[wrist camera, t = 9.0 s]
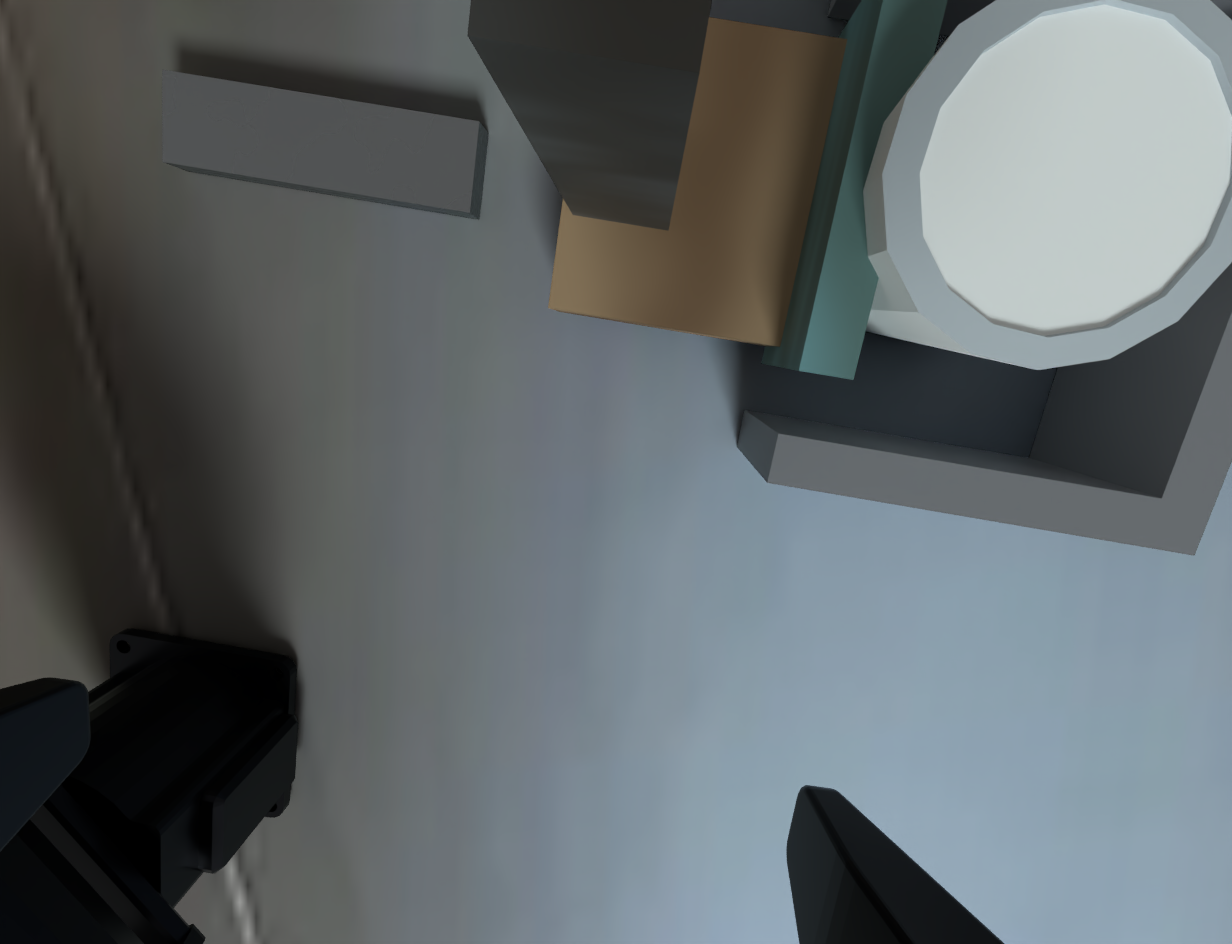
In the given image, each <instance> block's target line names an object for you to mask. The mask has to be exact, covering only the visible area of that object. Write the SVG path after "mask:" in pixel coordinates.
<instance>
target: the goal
mask: <svg viewBox="0 0 1232 944" xmlns="http://www.w3.org/2000/svg"><path fill="white" fill-rule="evenodd" d="M861 1H862V0H831V3H830V8H829V12H828V17H833V18H839V19H845V20H850V18H851V17H852V15H853V13H854V12H855V10H856V9H857V7H858V6H859V4H860V2H861ZM994 1H995V0H947V4H946V8H945V12H944V16H943V21H942V25H941V29H940V33H939V35H946V36H950V35H951V34H952V32H953V31H954V30H955V29H956V27H957V26H958V25H959V24H960V23H962V22H964V21H965V20H967V19H968V18H970V17H971V16H973V15H974V14H976V13H977V12H979V11H980V10H982V9H983V8H985V7H986V6H988V5H989V4H991V3H992V2H994ZM1210 1H1212V2H1213V3H1214V4H1215V5H1216V6H1217V7H1218V8H1219V9H1220V10H1221V11H1223V12H1224V13H1225V14H1226V15H1227V16H1228V17H1229V18H1230V19H1231V20H1232V0H1210ZM737 448H738V449H739V450H740V451H741V452H742V453H743V455H744V456H745V457H746V458H747V459H748V461H749V462H750V463H751V464H752V465H753V466H754V468H755V469H756V470H757V471H758V472H759V473H760V475H761V476H762V477H763V478H764V479H765V481H766V482H767V483H772V484H778V485H784V486H790V487H795V488H801V489H807V490H813V491H819V492H825V493H831V494H836V495H842V496H848V497H854V498H860V499H866V500H872V501H878V502H883V503H889V504H895V505H901V506H907V507H913V508H919V509H924V510H930V511H936V512H942V513H948V514H954V515H960V516H966V517H971V518H977V519H983V520H989V521H995V522H1001V523H1007V524H1012V525H1018V526H1024V527H1030V528H1036V529H1042V530H1048V531H1053V532H1059V533H1065V534H1071V535H1077V536H1083V537H1089V538H1095V539H1100V540H1106V541H1112V542H1118V543H1124V544H1130V545H1136V546H1141V547H1147V548H1153V549H1159V550H1165V551H1171V552H1177V553H1182V554H1188V555H1195V553H1196V550H1197V548H1198V545H1199V543H1200V540H1201V538H1202V535H1203V533H1204V530H1205V528H1206V525H1207V522H1208V520H1209V517H1210V515H1211V512H1212V510H1213V507H1214V505H1215V502H1216V500H1217V497H1218V495H1219V492H1220V490H1221V487H1222V485H1223V482H1224V479H1225V477H1226V474H1227V472H1228V469H1229V467H1230V464H1231V462H1232V262H1231V264H1230V265H1229V266H1228V267H1227V268H1226V269H1225V270H1224V271H1223V272H1222V273H1221V274H1220V276H1219V277H1218V278H1217V279H1216V280H1215V281H1214V282H1213V283H1212V284H1211V285H1210V287H1209V288H1208V289H1207V290H1206V291H1205V292H1204V293H1203V294H1202V295H1201V296H1200V297H1199V299H1198V300H1197V301H1196V302H1195V303H1194V304H1193V305H1192V306H1191V307H1190V308H1189V310H1188V311H1187V312H1186V313H1185V314H1184V315H1183V316H1182V317H1181V318H1180V319H1179V321H1177V322H1176V323H1174V324H1172V325H1170V326H1168V327H1167V328H1165V329H1163V330H1161V331H1159V332H1158V333H1156V334H1154V335H1152V336H1150V337H1149V338H1147V339H1145V340H1143V341H1141V342H1139V343H1138V344H1136V345H1134V346H1132V347H1130V348H1129V349H1127V350H1125V351H1123V352H1121V353H1120V354H1118V355H1116V356H1114V357H1112V358H1111V359H1107V360H1100V361H1094V362H1087V363H1081V364H1075V365H1068V366H1062V367H1058V369H1057V372H1056V375H1055V378H1054V381H1053V384H1052V387H1051V391H1050V394H1049V397H1048V400H1047V403H1046V406H1045V409H1044V412H1043V416H1042V419H1041V422H1040V425H1039V428H1038V431H1037V434H1036V437H1035V441H1034V444H1033V447H1032V450H1031V453H1030V456H1029V458H1027V457H1021V456H1015V455H1009V454H1003V453H997V452H991V451H985V450H979V449H973V448H967V447H961V446H956V445H950V444H944V443H938V442H932V441H926V440H920V439H914V438H908V437H902V436H896V435H890V434H885V433H879V432H873V431H867V430H861V429H855V428H849V427H843V426H837V425H831V424H825V423H819V422H813V421H808V420H802V419H796V418H790V417H784V416H778V415H772V414H766V413H760V412H754V411H748V410H745V411H744V416H743V420H742V425H741V430H740V435H739V439H738V444H737Z"/></svg>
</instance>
